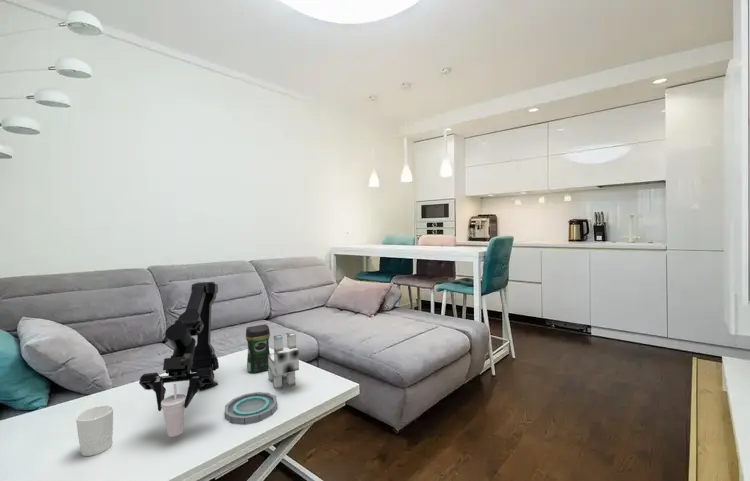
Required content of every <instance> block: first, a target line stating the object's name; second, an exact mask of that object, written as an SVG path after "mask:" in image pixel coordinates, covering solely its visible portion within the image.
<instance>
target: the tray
mask: <svg viewBox="0 0 750 481" xmlns="http://www.w3.org/2000/svg"><path fill="white" fill-rule="evenodd" d="M277 410H278V400H277V396H276V395H274V394H272V393H270V392H261V391H256V392H251V393H249V392H248V393H244V394H241V395H238V396H237V397H235V398H233V399H231V400H230V401H228V403H226V404H225V405H224V411H223V412H224V414H223V415H224V420H226V421H228V423H230V424H234V425H248V424H255V423H259V422H261V421H263V420H265V419H268V418H269V417H271V416H272V415H274V413H275V412H276V411H277Z"/></svg>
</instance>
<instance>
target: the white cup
mask: <svg viewBox="0 0 750 481" xmlns="http://www.w3.org/2000/svg"><path fill="white" fill-rule="evenodd" d="M75 421H76V422H75V423H76V428H77V429H76V430H77V438H78V443H79V449H80V454H81V455H82V456H83V457H92V456H96V455H98V454H101V453H104V452H105V451H108V449H110V447H111V446H112V445H113V435H114V434H113V433H114V432H113V431H114V406H112V405H97V406H94V407H91V408H89V409H86V410H84V411H82V412H79V413H78V414H77V415H76V417H75Z"/></svg>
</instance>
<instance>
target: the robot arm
mask: <svg viewBox="0 0 750 481" xmlns="http://www.w3.org/2000/svg"><path fill="white" fill-rule="evenodd" d="M218 292H219V285H218V284H217V283H216V282H215V281H203V282H194V283H192V284H191V293H190V296H189V299H188V302H187V305H186V307H185V308H186V309H185V311H184V312H183V313H181V314H179V316H178V318H177V320H176V319H175V320H174V323H173V324H171V325H169V326H168V327H167V329H166V330H165V332H164V335H165V338H166V339H167V341H168V342H169V345H170V346H171V347H172V349H173V352H172V355H170V357H167V358H163V366H162V370H163V371H165V372H164V373H166V374H167V375H162V376H161V375H159V373H158V372H148V373H143V374H142V375H141V376H140V378H139V382H138V384H139V385H140V386H141V387H142V388H143V389H144V390H147V391H149V390H152V391H153V392H155V397H156V403H157V410H158V411H159V412H162V410H163V408H162V407H161V401H162V400H163V399H165V395H166V391H167V389H166V388H165V386H164V385H165V384H166V383H167V384H169V383H178V382H188V381H189V382H188V389H187V392H186V399H185V405H184V407H185V409H187V408H188V407H189V405H190V403H191V401H192V400H193V398H194V396H195V395H196V394H197V392H198V391H204V390H206V389H209V388H212V387H215V386H217V385H218V382H217V381H216V380H215V373H214V371H216V370H218V369H219V366H220V365H219V360H218V356H217V355H216V353H215V351H216V350H215V348H214V347H213V345H212V343H211V335H212V334H211V331H212V329H211V328H212V305H213V304H214V303H215V300H216V299H217V294H218ZM195 336H196V337H197V338H196V339H195V338H194V337H195Z"/></svg>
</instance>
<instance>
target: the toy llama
mask: <svg viewBox="0 0 750 481" xmlns="http://www.w3.org/2000/svg"><path fill="white" fill-rule="evenodd" d="M286 335H287V338H286V339H287V347H285V346H284V345H283V344H284V343H283V340H284V339H283V335H280V334H279V335H274V336H273V353H270V354H268V370H267V371H268V381H269V382H270V383H271V382H273V389H274V390H275V391H277V390H280V389H283V380H284V379H286V385H287V387H292V386H296V371H297V372H298V371H300V359H299V357H300V356H299V355H300V353H299V351H300V350H299V348H297V333H295V332H290V333H289V332H288V333H287V334H286Z"/></svg>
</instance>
